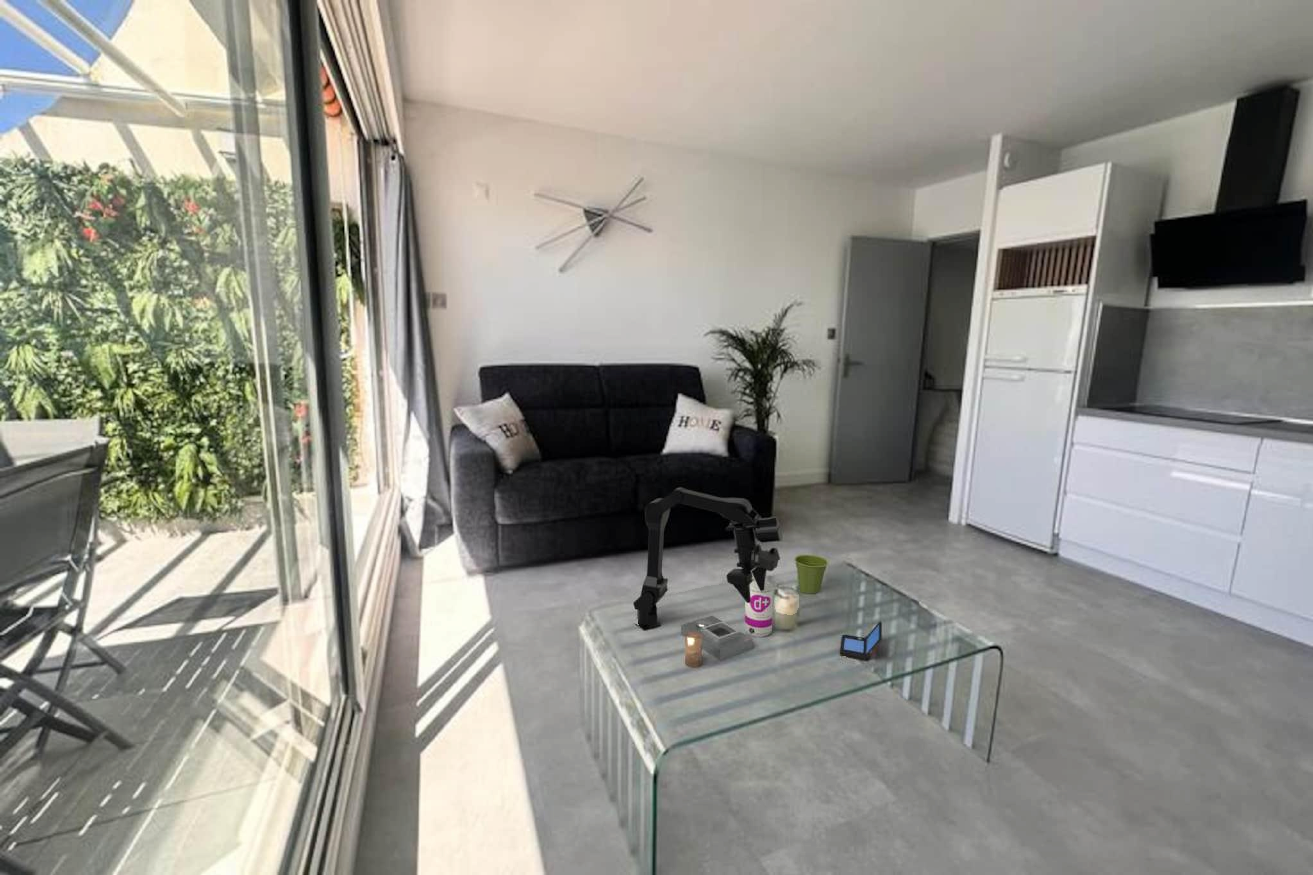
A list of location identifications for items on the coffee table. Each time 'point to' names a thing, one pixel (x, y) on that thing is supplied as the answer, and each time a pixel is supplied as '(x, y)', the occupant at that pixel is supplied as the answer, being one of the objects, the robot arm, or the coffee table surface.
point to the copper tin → (693, 649)
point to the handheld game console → (861, 644)
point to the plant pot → (810, 572)
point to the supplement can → (759, 610)
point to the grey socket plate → (718, 637)
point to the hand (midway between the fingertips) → (755, 596)
